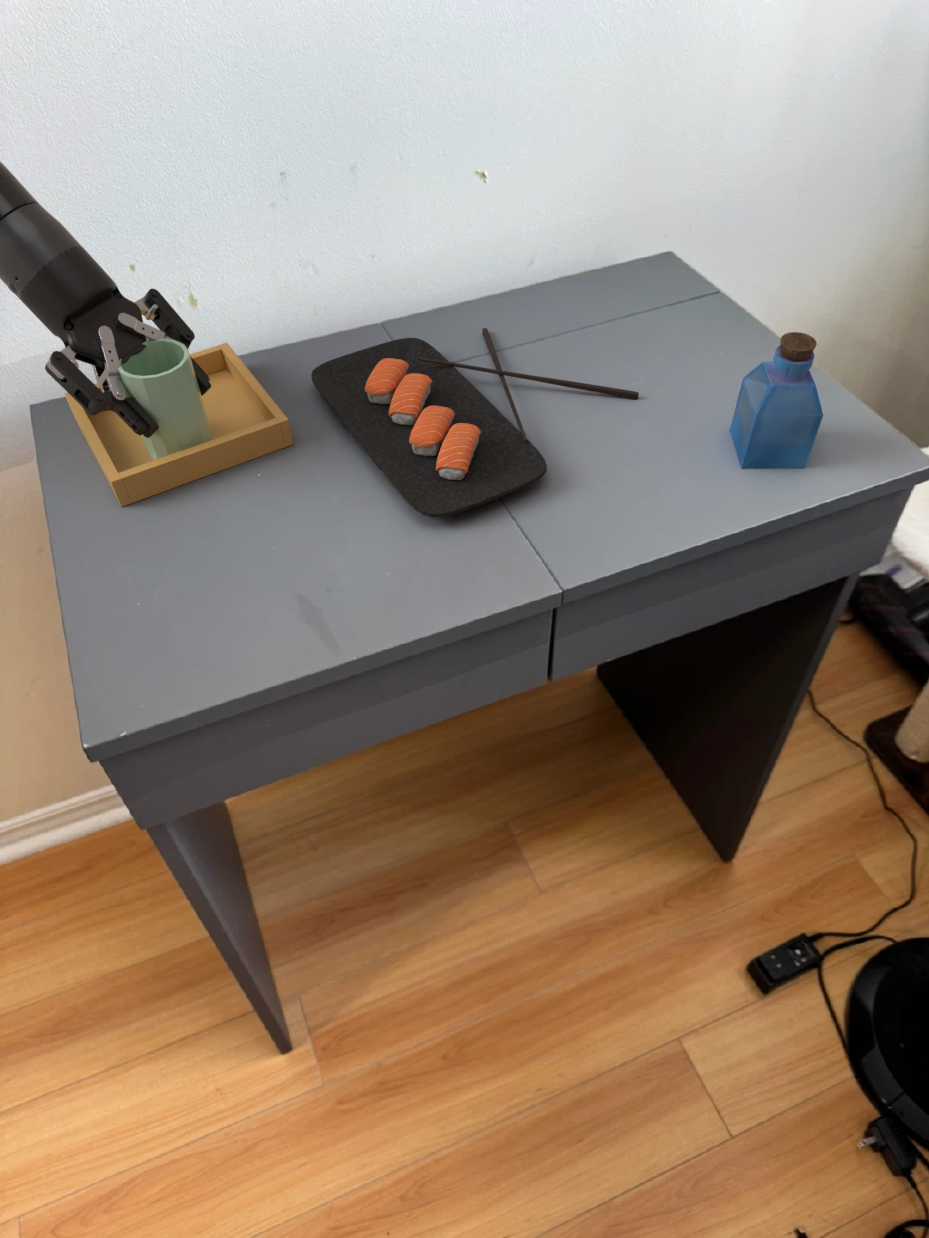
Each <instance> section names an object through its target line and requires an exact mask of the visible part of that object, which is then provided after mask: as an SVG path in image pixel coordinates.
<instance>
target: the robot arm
mask: <svg viewBox="0 0 929 1238" xmlns="http://www.w3.org/2000/svg"><path fill="white" fill-rule="evenodd" d="M0 280H1V281H2V282H3V283H4V284H5V285H6V287H7V288H8V290H9V291H10V292H12V294H14V295H15V296H16V297H17V298H18V299H19V300H20V301H21V302H22V303H23V304H24V306H25V307H26V308H27V309H29V311H30V312H31V313H32V314H33V315H34V316H35V317H36V318H37V319H38V320H39V321H40V322H41V323H42V324H43V326H45V328H46V329H47V330H49V332H50V333H52V335H53V336H55V337H57V338H59V339H60V340H61V341H62V343H63V346H64V348H63V349H61V350H54V351H53V352H52V353H51V355H50V356H49V359H48V360H47V362H46V363H45V366H44V370H45V372H46V373H47V374H48V375H49V376H50V377H51V378H52V379H53V380H54V381H55V382H56V383H58V385H59V386H61V387H62V389H63V390H64V391H65V392H66V393H69V394H70V395H71V396H72V397H73V398H74V399H75V400H76V401H77V402H78V403H79V404H80V405H81V406H82V407H83V408H84V409H85V410H86V411H87V412H88V413H90V414H91V415H97V414H98V413H99V412H103V411H107V410H111V411H114V412H115V413H116V414H117V415H118V416H119V417H120V418H121V419H122V420H123V421H124V422H125V423H126V424H127V425H128V426H129V427H130V428H131V429H132V430H133V431H134V432H135V433H136V434H138V435H140V436H141V435H144V436H145V437H146V438H149V437H151V436H152V435H153V434H154V433H155V432H156V431H157V430H158V429H159V426H158V424H157V423H156V422H155V421H154V420H153V419H152V418H151V417H150V416H149V415H148V413H147V412H146V411H145V410H144V409H143V408H142V407H141V406H140V405H139V404H138V403H137V402H136V401H135V400H134V399H133V398H132V397H131V396H130V397H129V398H127V397H126V392H125V388H124V384H123V381H122V379H121V376H120V373H119V371H118V368H120V367H121V366H120V362H119V360H120V359H121V361H122V364H125V363H126V362H127V361H128V360H129V358H130V357H131V356H133V355H137V354H139V353H140V352H141V351H143V350H144V348H146V346H145V345H143V343H144V342H145V341H146V340H155V341H158V340H159V339H170V340H175V341H178V342H180V343H182V344H184V345H185V347H186V348H187V349H188V350H189V348H190V346H191V345H192V342H193V341H194V340H195V337H196V334H195V333H194V331H193V330H192V329H191V328H190V326H189V325H188V324H187V323H186V322H185V321H184V319H183V318H182V317H181V316H180V315H179V314H178V313H177V311H176V310H175V309H174V308H173V307H172V305H171V304H170V303H169V301H167V299H166V298H165V297H164V296H163V295H162V293H160V291H158V289H156V288H150V289H148V291H147V292H146V293H145V295H144V296H143V297H141V298H139V299H138V300H136V301H132V300H130V299H129V298H127V297H125V296H124V295H123V294H122V293H121V291H120V289H119V287H118V285H117V283H116V282H115V281H114V280H113V278H112V277H111V276H110V275H109V274H108V272H106V271H105V270H104V268H103V267H102V266H101V265H100V264H99V263H98V262H97V260H96V259H94V257H93V256H92V255H91V254H90V253H89V251H87V250H86V249H85V248H84V247H83V245H82V244H81V243H80V242H79V241H78V240H77V239H76V238H75V236H74V235H72V233H71V232H70V231H69V230H68V229H67V228H66V227H65V226H64V225H63V224H62V223H61V222H60V221H59V220H58V219H57V218H55V217H54V216H53V215H52V213H50V211H49V212H48V210H47V209H45V208H44V207H43V206H42V205H41V204H40V202H39V201H38V199H36V198H35V196H33V194H32V193H31V192H30V191H29V190H28V189H27V188H26V187H25V186H24V185H23V184H22V182H21V181H20V180H19V179H18V178H17V177H16V176H15V175H14V174H13V173H12V171H11V170H9V168H8V167H7V166H5V164H4V163H3V162H2V161H0ZM143 317H144V318H145V320H146V321H151V322H153V324H154V325H155V326H156V327H157V328H156V327H154V326H152V325H149V324H147V323H145V322H144V320H143ZM190 358H191V361H192V365H193V368H194V371H195V375H196V378H197V382H198V385H199V389H200V392H201V396H203V395H204V394H205V393H206V392H207V391H208V390H209V389H210V388H211V384H210V382H209V381H210V379H209V377H208V375H207V374H206V373H205V372H204V371H203V369H202V368H200V366H199V365H198V364H197V363H196V362H195V361H194V359H193V358H192V357H191V356H190ZM78 361H79V362H82V363H84V364H88V365H91V366H92V370H93V373H94V377H95V380H96V383H94V382H93V381H92V380H90V379H89V377H88V376H87V375H86V374H84V373H83V371H81V369H80V365H79V363H78ZM95 384H98V386H99V388H101V390H102V391H101V390H100V389H99V388H98V387H97V386H96V385H95Z"/></svg>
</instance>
